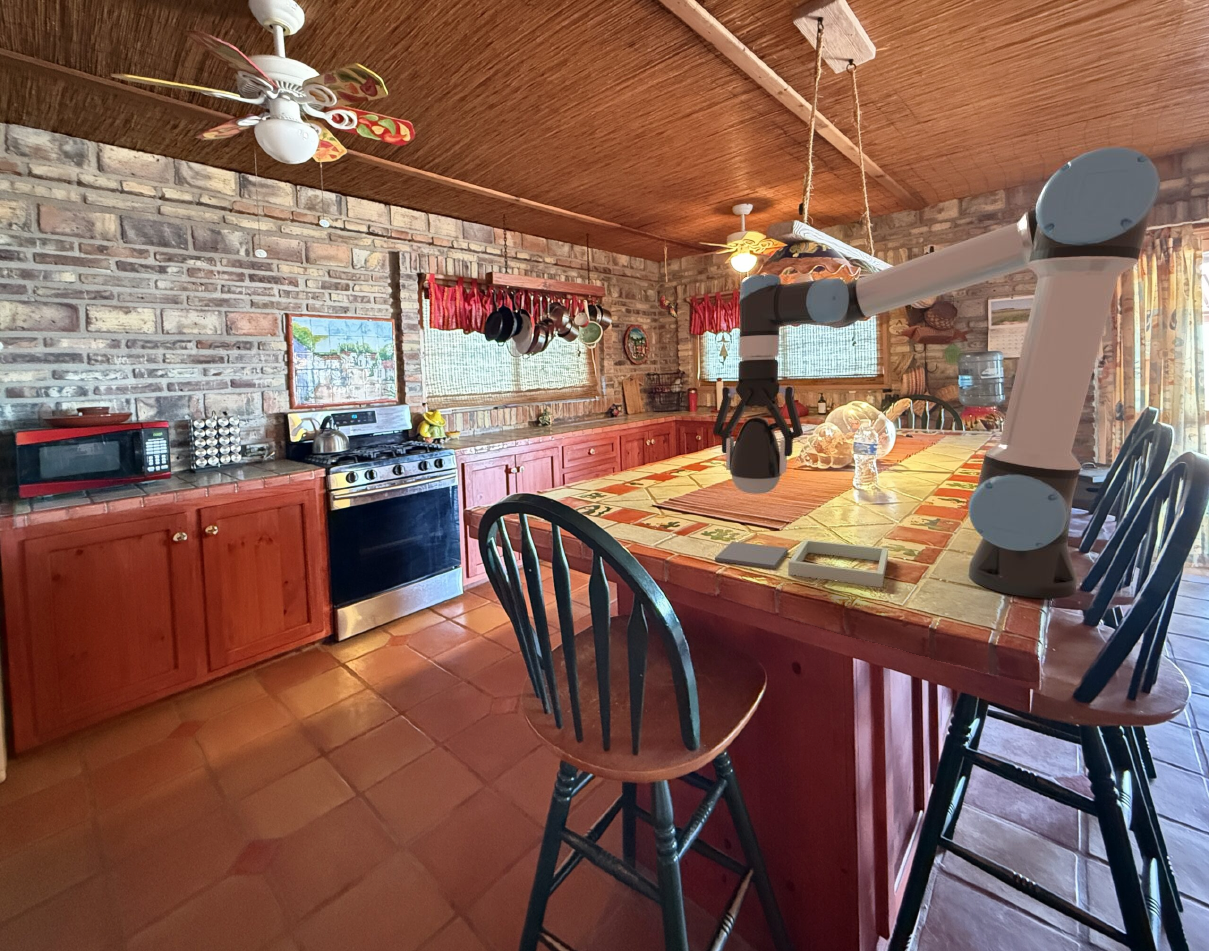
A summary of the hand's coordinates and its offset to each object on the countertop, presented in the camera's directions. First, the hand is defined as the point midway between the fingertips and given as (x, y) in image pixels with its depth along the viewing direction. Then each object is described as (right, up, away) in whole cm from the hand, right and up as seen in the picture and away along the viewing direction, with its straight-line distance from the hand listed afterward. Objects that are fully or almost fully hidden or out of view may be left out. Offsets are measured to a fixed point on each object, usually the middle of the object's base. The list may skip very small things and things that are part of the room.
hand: (755, 470), depth 114 cm
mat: (0, -18, +3) cm, 18 cm away
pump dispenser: (0, -4, +1) cm, 4 cm away
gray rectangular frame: (+15, -19, -5) cm, 25 cm away
